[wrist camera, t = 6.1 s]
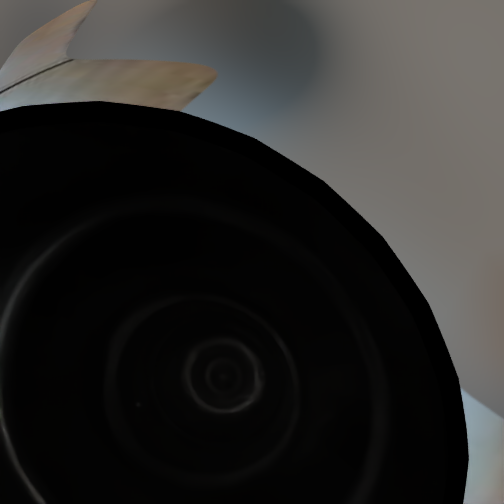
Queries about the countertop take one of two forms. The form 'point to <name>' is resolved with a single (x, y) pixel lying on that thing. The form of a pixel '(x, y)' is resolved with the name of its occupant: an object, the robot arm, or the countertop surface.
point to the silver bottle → (206, 325)
